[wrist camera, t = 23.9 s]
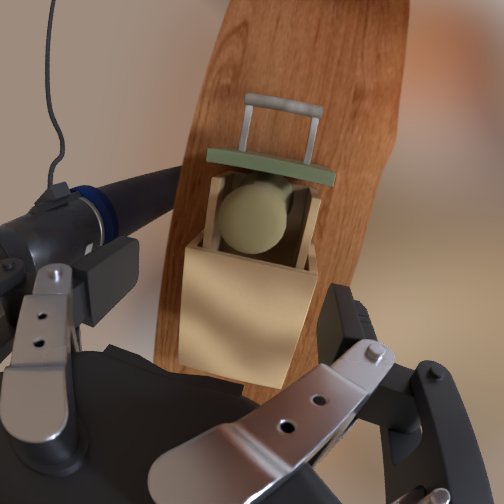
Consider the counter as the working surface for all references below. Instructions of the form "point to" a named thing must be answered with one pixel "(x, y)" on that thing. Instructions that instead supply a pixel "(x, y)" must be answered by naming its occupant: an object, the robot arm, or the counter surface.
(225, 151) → the drawer
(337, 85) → the counter surface
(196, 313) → the cabinet
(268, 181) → the cork
